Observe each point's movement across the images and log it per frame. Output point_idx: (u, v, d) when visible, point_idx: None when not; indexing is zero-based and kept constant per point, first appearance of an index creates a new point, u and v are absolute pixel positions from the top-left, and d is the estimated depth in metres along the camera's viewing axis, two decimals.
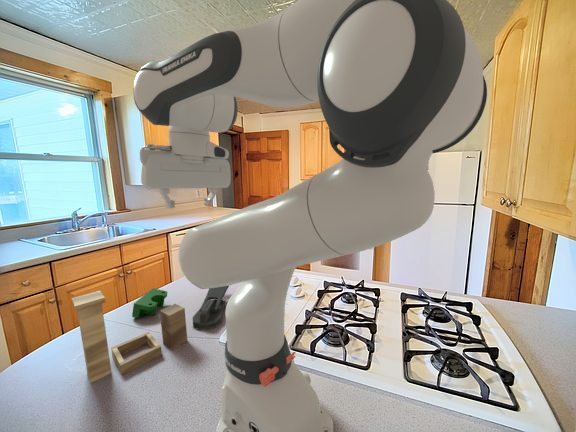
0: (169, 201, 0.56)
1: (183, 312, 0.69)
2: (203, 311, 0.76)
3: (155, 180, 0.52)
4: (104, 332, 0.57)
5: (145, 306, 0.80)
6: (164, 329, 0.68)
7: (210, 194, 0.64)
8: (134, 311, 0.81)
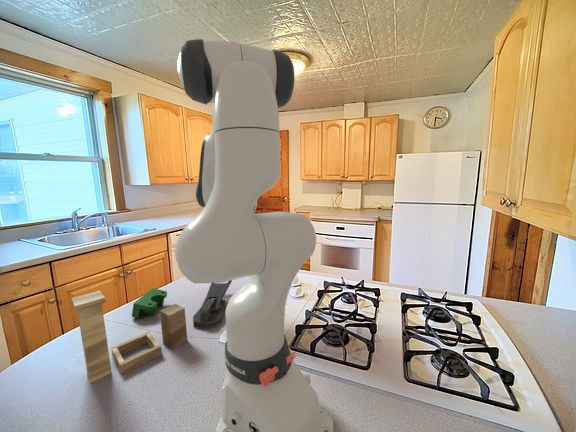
0: None
1: (183, 312, 0.69)
2: (203, 311, 0.76)
3: None
4: (104, 332, 0.57)
5: (145, 306, 0.80)
6: (164, 329, 0.68)
7: None
8: (134, 311, 0.81)
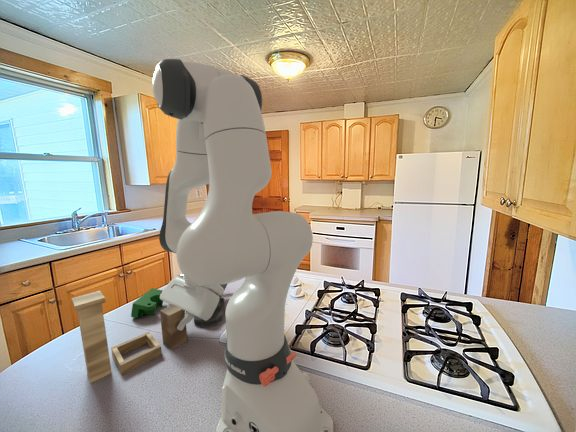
0: None
1: (183, 312, 0.69)
2: None
3: (164, 293, 0.75)
4: (104, 332, 0.57)
5: (144, 306, 0.80)
6: (164, 329, 0.68)
7: None
8: (133, 311, 0.81)
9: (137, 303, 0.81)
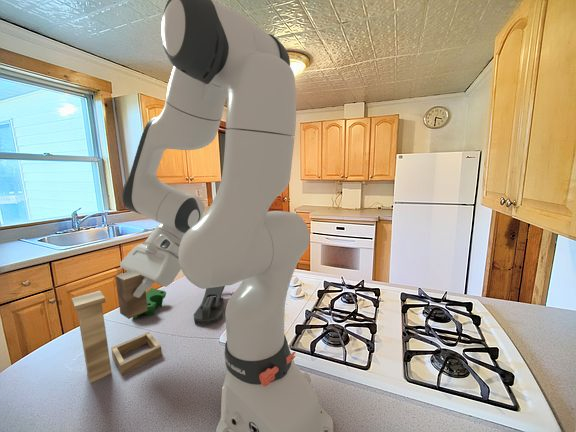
0: None
1: (142, 278, 0.62)
2: (204, 308, 0.78)
3: (125, 261, 0.68)
4: (104, 332, 0.57)
5: None
6: (120, 296, 0.61)
7: None
8: None
9: None
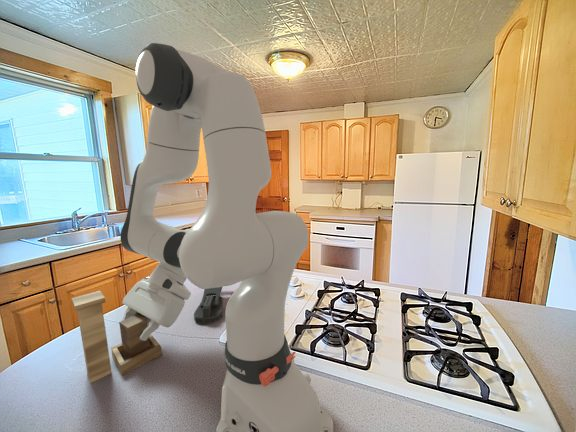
0: (123, 319, 0.66)
1: (145, 323, 0.64)
2: (205, 306, 0.79)
3: (127, 297, 0.69)
4: (104, 332, 0.57)
5: None
6: (124, 342, 0.63)
7: None
8: None
9: None
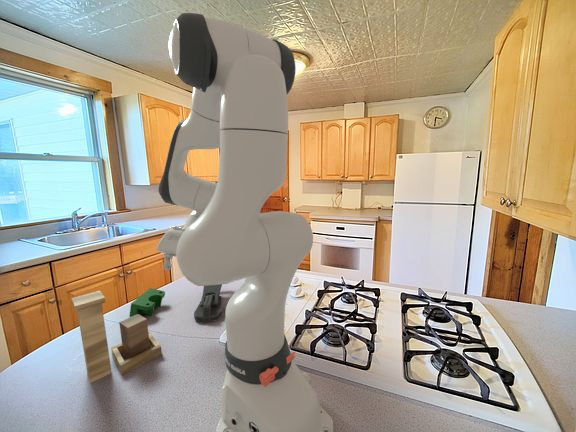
0: (165, 263, 0.74)
1: (145, 323, 0.64)
2: (205, 306, 0.79)
3: (162, 245, 0.76)
4: (104, 332, 0.57)
5: (142, 306, 0.80)
6: (124, 342, 0.63)
7: None
8: (131, 311, 0.81)
9: (135, 303, 0.81)
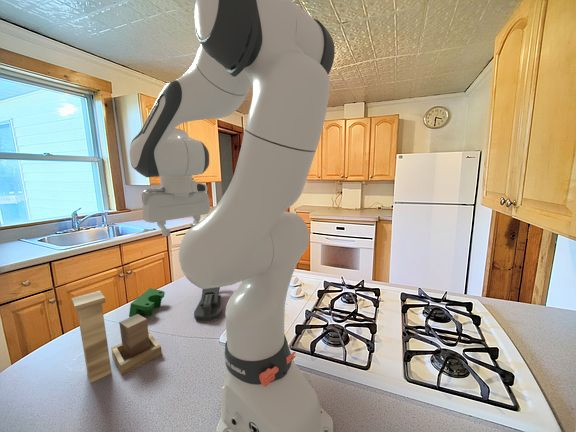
0: (166, 230, 0.71)
1: (145, 323, 0.64)
2: (205, 305, 0.80)
3: (155, 215, 0.67)
4: (104, 332, 0.57)
5: (142, 306, 0.80)
6: (124, 342, 0.63)
7: (195, 220, 0.80)
8: (131, 311, 0.81)
9: (135, 303, 0.81)
